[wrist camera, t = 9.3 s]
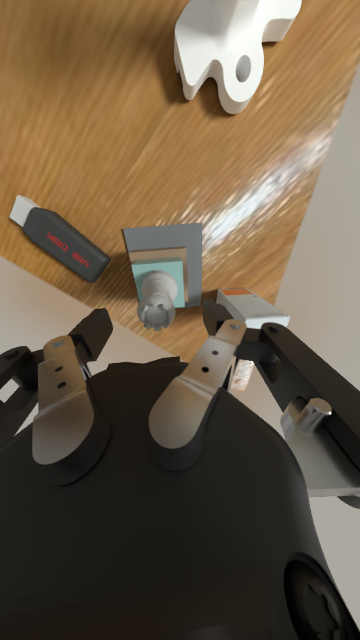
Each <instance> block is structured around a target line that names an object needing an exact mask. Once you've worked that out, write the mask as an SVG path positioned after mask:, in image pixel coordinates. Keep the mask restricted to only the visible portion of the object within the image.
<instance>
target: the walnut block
mask: <svg viewBox="0 0 360 640" xmlns="http://www.w3.org/2000/svg"><path fill="white" fill-rule="evenodd" d="M129 257H130V262H131V265H132V264H133V263H135V262H136V261H137V260H147V259H159V258H171V257H180V258H181V260H182V265H183V284H184V302H188V275H187V249H186V248H185V247H184V246H183V247H170V248H158V249H145V250H134V251H132V252H129Z"/></svg>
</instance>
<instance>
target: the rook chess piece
mask: <svg viewBox="0 0 360 640" xmlns="http://www.w3.org/2000/svg"><path fill="white" fill-rule="evenodd" d="M141 290H142V295H143V297H144V298H143V299H142V300H141V301H140V303H139V304H138V308H137V313H138V317H139V319H140V321H141V322H142V323H144V327H146V328H147V329H149V328H150V327H152V328H155V331H160V329H161V328H163V327H165V328H166V327H167V326H169V324H170V323H171V322H172V321H173V319H174V317H175V307H174V305H173V303H172V302H173V301H174V300H175V298H176V296H177V291H178V288H177V282H176V280H175V278H174V277H173V276H172V275H171V274H170V273H168V272H165V271H163V270H155V271H152V272H150V273H148V274H147V275H146V277H145V278H144V279H143V283H142V287H141Z"/></svg>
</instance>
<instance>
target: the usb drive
mask: <svg viewBox="0 0 360 640" xmlns="http://www.w3.org/2000/svg"><path fill="white" fill-rule="evenodd" d="M10 218H11V219H12V220H14V221H15V222H16V223H18V224H19V225H21V226H22V227H23V228H22V230H23V231H24V233H25V234H26V235H27V236H28V237H29V238H30V239H31V241H32V242H34V243H35V244H36V245H38V246H39V247H40V248H42V249H43V250H45V251H46V252H47V253H49V254H50V255H52V256H53V257H54V258H56V259H57V260H59V261H60V262H61V263H63V264H64V265H66V266H67V267H68V268H70V269H71V270H73V271H74V272H75V273H77V274H78V275H80V276H81V277H82V278H84V279H85V280H87V281H88V282H91V283H93V282H96V280H97V279H98V278H99V276H100V275H101V273H102V272H103V271H104V269H105V268H106V266H107V265H108V264H109V262H110V261H111V258H110V257H109V256H108V255H106V254H105V253H104V252H103V251H102V250H100V249H99V248H98V247H97V246H96V245H94V244H93V243H92V242H91V241H90V240H88V239H87V238H86V237H85V236H84V235H82V234H81V233H80V232H79V231H78V230H76V229H75V228H74V227H73V226H72V225H70V224H69V223H68V222H67V221H66V220H64V219H63V218H62V217H61V216H60V215H58V214H57V213H56V212H53V211H50V210H47V209H43V208H40V207H39V206H38V205H36V204H35V203H34V202H33V201H31V200H30V199H29V198H27V197H23V196H20V195H18V196H17V198H16V201H15V203H14V206H13V209H12V211H11V214H10Z"/></svg>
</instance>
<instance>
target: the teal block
mask: <svg viewBox="0 0 360 640" xmlns="http://www.w3.org/2000/svg"><path fill="white" fill-rule="evenodd" d="M131 266H132V270H133V275H134V279H135V284H136V288H137V293H138V297H139V301H141V300H142V299H143V298H144V297H143V295H142V290H141V287H142V283H143V279H144V278H145V277H146V275H147V274H148V273H150V272H152V271H155V270H163V271H165V272H168V273H170V274H171V275H172V276H173V277H174V278H175V280H176V282H177V288H178V291H177V296H176V298H175V300H174V301H173V302H172V303H173V305H174V307H175V308H178V307H185V302H184V284H183V265H182V260H181V258H180V257H171V258H159V259H147V260H137V261H136V262H135V263H133V264H132V265H131Z"/></svg>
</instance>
